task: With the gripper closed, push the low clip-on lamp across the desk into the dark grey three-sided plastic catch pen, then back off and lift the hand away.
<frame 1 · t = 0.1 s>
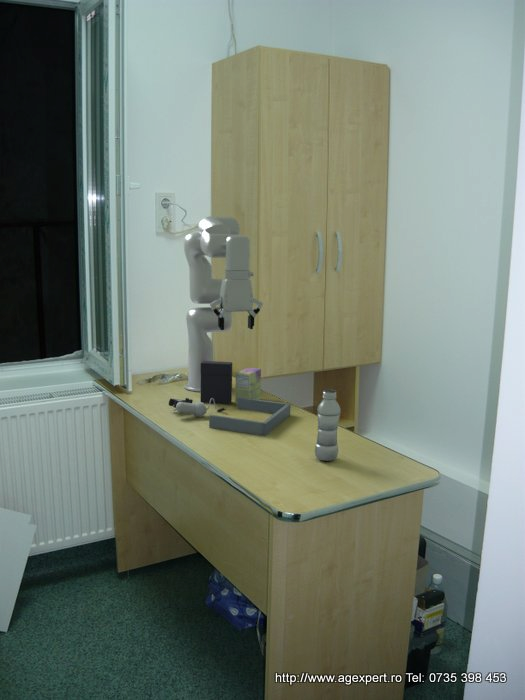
hand: (236, 329, 217), 31 cm above the table, tool pointing down, fingers open, 9 cm apart
clip-on lamp: (197, 414, 231), on the table
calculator: (216, 403, 245), on the table
box: (247, 402, 247), on the table
plastic bottle: (326, 460, 192), on the table
catch pen: (249, 420, 225), on the table
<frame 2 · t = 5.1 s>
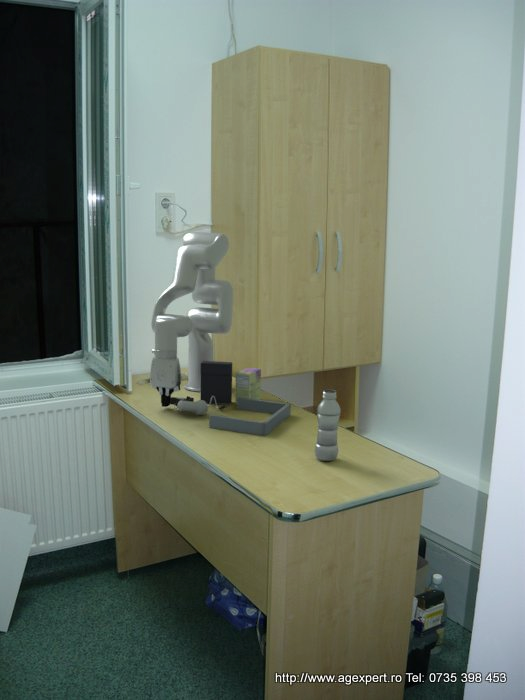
hand: (165, 405, 235), 1 cm above the table, tool pointing down, fingers closed
clip-on lamp: (199, 412, 233), on the table, touching gripper
everything else where it was.
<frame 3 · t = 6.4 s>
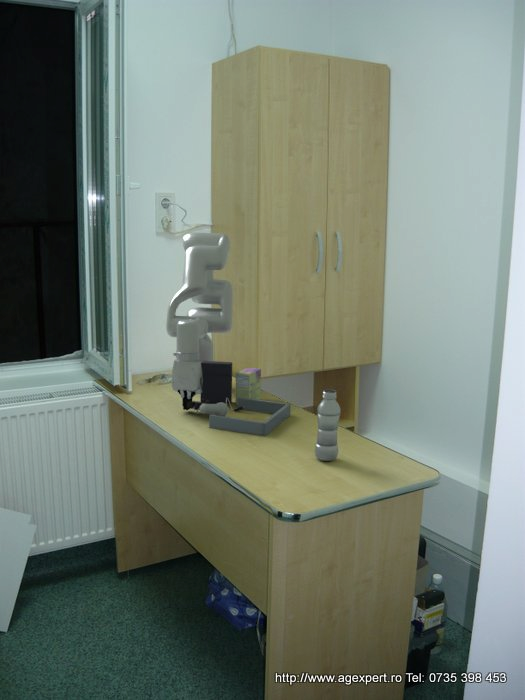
hand: (187, 408, 232), 1 cm above the table, tool pointing down, fingers closed
clip-on lamp: (217, 414, 231), on the table, touching gripper
everything else where it was.
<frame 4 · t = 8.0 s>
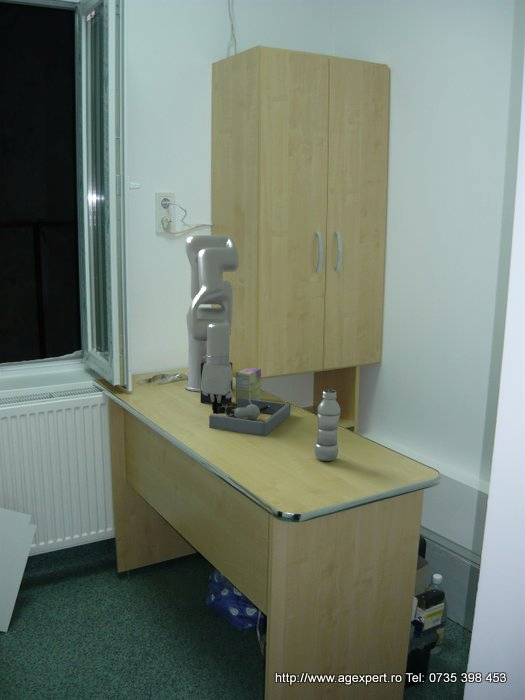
hand: (217, 412, 228), 1 cm above the table, tool pointing down, fingers closed
clip-on lamp: (245, 417, 229), on the table, touching gripper
everything else where it was.
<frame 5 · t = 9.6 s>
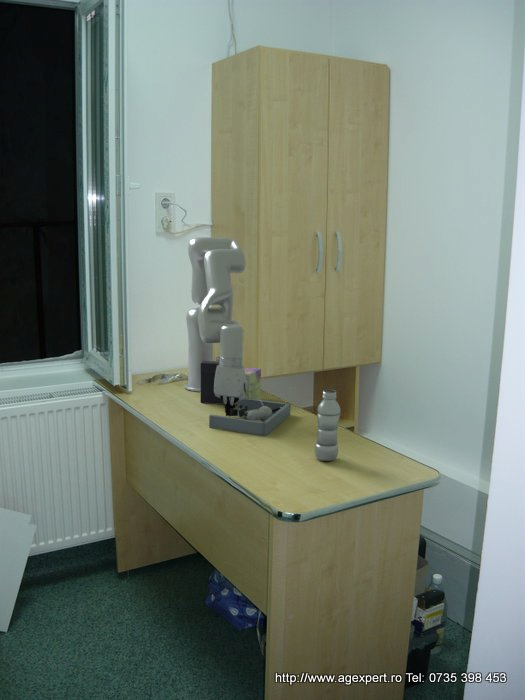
hand: (229, 415, 227), 1 cm above the table, tool pointing down, fingers closed
clip-on lamp: (257, 419, 227), on the table, touching gripper
everything else where it was.
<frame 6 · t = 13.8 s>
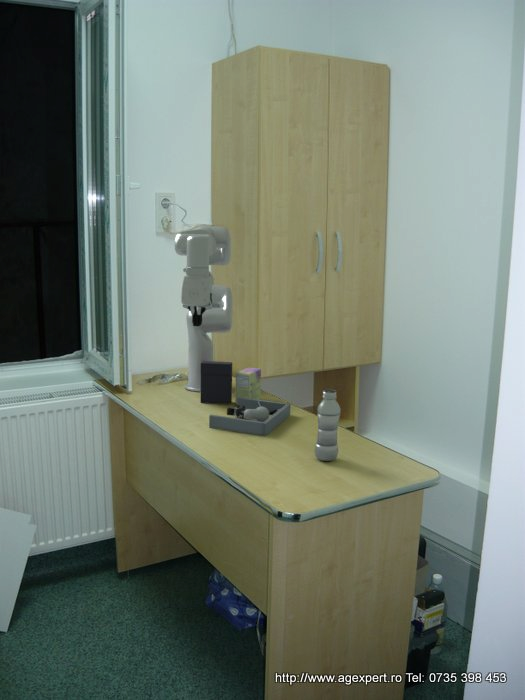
hand: (197, 325, 233), 29 cm above the table, tool pointing down, fingers closed
clip-on lamp: (254, 419, 228), on the table
everything else where it was.
at the end: clip-on lamp inside the target area on the catch pen (3.2 cm from its centre), point 0.0 cm above the catch pen's base; clip-on lamp moved 19.9 cm from its start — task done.
